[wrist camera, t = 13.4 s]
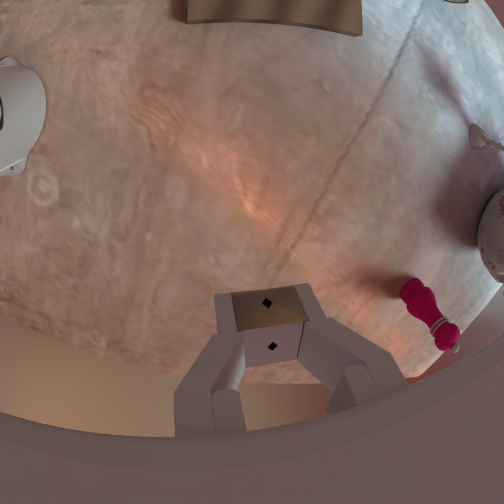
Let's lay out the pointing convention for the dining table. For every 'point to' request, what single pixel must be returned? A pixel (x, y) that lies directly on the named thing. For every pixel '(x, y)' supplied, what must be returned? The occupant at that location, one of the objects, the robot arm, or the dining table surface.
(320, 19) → the board
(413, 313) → the pepper mill
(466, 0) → the tin
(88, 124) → the dining table surface
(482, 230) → the chamber pot
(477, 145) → the chalice
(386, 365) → the robot arm
